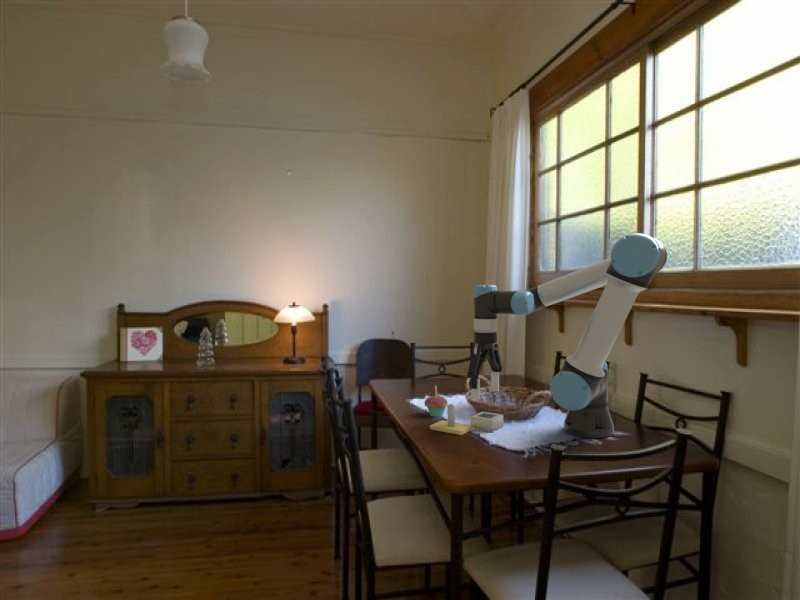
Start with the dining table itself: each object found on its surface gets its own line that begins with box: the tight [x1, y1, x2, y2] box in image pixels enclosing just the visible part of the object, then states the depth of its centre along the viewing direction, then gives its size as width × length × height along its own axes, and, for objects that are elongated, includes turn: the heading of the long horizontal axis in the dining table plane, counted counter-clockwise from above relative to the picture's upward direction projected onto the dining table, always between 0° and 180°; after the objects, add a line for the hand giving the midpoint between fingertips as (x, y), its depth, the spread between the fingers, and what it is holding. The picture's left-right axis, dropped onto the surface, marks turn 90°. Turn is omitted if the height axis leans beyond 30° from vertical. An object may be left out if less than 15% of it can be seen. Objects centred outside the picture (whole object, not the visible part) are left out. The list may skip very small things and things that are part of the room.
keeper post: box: [429, 403, 474, 436], centre depth 167 cm, size 12×8×8 cm, turn 52°
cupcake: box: [423, 384, 449, 418], centre depth 185 cm, size 9×8×12 cm
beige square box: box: [470, 411, 504, 433], centre depth 168 cm, size 8×8×4 cm
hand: (485, 394), depth 168 cm, fingers open, 13 cm apart
